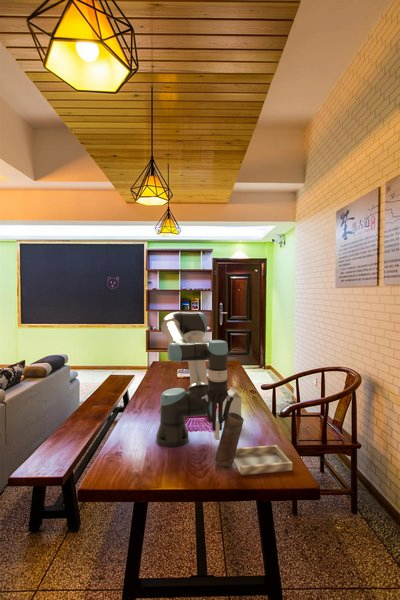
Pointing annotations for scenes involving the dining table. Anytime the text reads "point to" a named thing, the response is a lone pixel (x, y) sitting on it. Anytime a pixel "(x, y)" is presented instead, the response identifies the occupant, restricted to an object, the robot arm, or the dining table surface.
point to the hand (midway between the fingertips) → (216, 438)
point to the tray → (261, 460)
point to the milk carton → (234, 402)
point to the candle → (229, 440)
